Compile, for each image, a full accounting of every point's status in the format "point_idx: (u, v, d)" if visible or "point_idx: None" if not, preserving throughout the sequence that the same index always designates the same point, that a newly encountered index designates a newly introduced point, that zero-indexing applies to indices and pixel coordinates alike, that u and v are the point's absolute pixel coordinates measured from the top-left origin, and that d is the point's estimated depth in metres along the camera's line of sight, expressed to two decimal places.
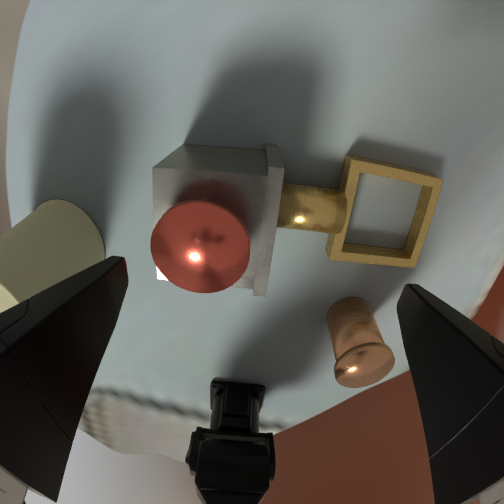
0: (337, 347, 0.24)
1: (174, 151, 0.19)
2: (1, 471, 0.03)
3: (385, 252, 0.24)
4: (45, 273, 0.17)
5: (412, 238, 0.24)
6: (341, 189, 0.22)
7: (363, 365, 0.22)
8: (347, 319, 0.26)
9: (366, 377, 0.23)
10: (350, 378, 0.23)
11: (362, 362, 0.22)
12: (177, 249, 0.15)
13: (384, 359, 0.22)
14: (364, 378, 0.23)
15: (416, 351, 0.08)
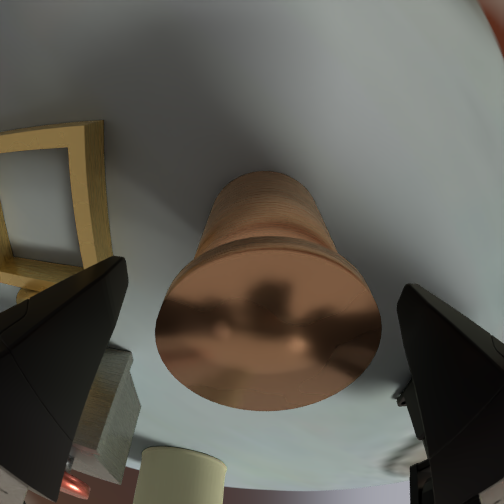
0: None
1: None
2: (1, 471, 0.03)
3: None
4: None
5: None
6: None
7: (243, 362, 0.07)
8: None
9: (323, 339, 0.06)
10: (310, 380, 0.07)
11: (226, 367, 0.07)
12: None
13: (215, 306, 0.06)
14: (326, 345, 0.07)
15: (416, 351, 0.08)
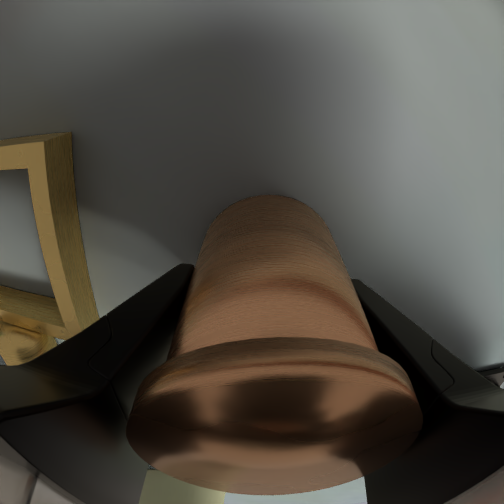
0: None
1: None
2: None
3: None
4: None
5: None
6: None
7: (243, 467, 0.05)
8: None
9: (347, 448, 0.04)
10: (324, 475, 0.05)
11: (220, 470, 0.05)
12: None
13: (201, 427, 0.04)
14: (349, 452, 0.04)
15: None
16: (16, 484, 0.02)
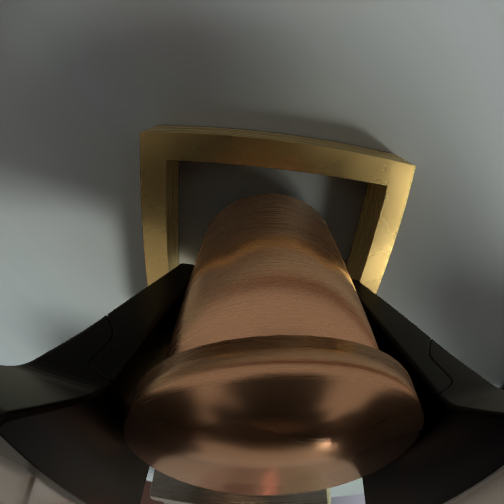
0: None
1: None
2: None
3: (363, 239, 0.10)
4: None
5: None
6: None
7: (242, 467, 0.05)
8: None
9: (347, 449, 0.04)
10: (324, 476, 0.05)
11: (219, 470, 0.05)
12: None
13: (199, 426, 0.04)
14: (350, 452, 0.04)
15: None
16: (18, 485, 0.02)
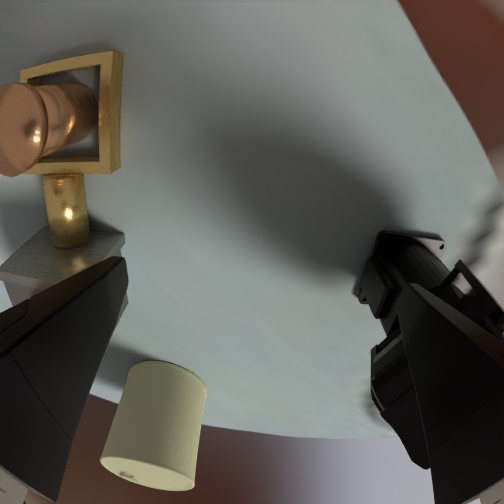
0: None
1: None
2: (1, 471, 0.03)
3: None
4: (121, 425, 0.22)
5: (85, 67, 0.15)
6: None
7: (2, 138, 0.11)
8: None
9: (20, 118, 0.11)
10: (22, 146, 0.12)
11: None
12: None
13: None
14: (22, 121, 0.11)
15: (416, 351, 0.08)
16: None
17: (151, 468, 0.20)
